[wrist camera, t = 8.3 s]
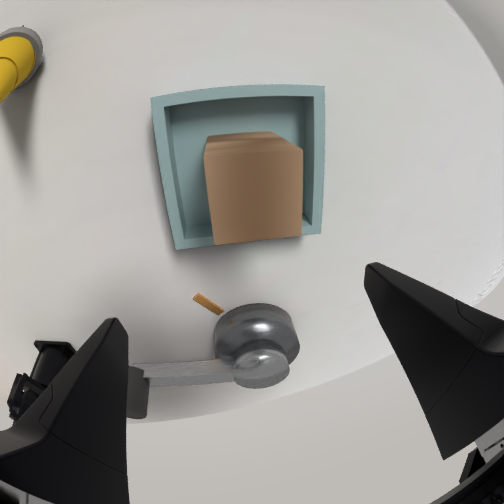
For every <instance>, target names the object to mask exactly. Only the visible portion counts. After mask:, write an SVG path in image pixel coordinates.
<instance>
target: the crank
mask: <svg viewBox="0 0 504 504" xmlns="http://www.w3.org/2000/svg"><path fill="white" fill-rule="evenodd" d="M289 371H290V369H289V365H288V361H287V358H286V354H285V350H284V348H283V347H282V346H281V345H279V344H277V343H274V342H270V341H258V342H253V343H249V344H246V345H244V346H242V347H240V348H239V349H238V350H237V351H235V353H234V354H233V356H232V358H227V359H217V360H206V361H193V362H178V363H154V364H133V367H132V366H129V375H128V391H127V413H126V417H128V418H132V419H143V418H145V417H146V416H147V405H148V395H149V386H177V385H197V384H211V383H222V382H232V381H235V382H236V383H237V384H238V385H240V386H242V387H246V388H253V389H257V388H265V387H270V386H273V385H275V384H277V383H279V382H281V381H282V380H284V379H285V378H286V377H287V376H288V374H289Z"/></svg>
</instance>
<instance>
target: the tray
mask: <svg viewBox="0 0 504 504" xmlns="http://www.w3.org/2000/svg"><path fill="white" fill-rule="evenodd" d="M151 107H152V116H153V124H154V132H155V139H156V146H157V153H158V159H159V165H160V172H161V177H162V183H163V189H164V194H165V200H166V205H167V210H168V215H169V220H170V225H171V229H172V234H173V239H174V243H175V247H176V250H180V249H188V248H196V247H205V246H213V245H215V244H214V237H213V230H212V223H211V215H210V208H209V200H208V192H207V184H206V176H205V168H204V159H203V157H204V152H205V147H206V142H207V137H208V136H212V135H221V134H231V133H243V132H257V131H271V132H273V133H275V134H277V135H278V136H280V137H282V138H284V139H285V140H287V141H289V142H291V143H292V144H294V145H296V146H297V147H299V148H301V149H302V150H303V200H302V233H301V236H302V235H311V234H321V224H322V208H323V190H324V164H325V86H314V85H244V86H229V87H218V88H209V89H200V90H193V91H186V92H179V93H173V94H167V95H162V96H157V97H152V98H151ZM292 237H293V236H292ZM283 238H284V237H283ZM274 239H275V238H274ZM265 240H266V239H265ZM256 241H257V240H256ZM247 242H248V241H247ZM221 245H222V244H221Z"/></svg>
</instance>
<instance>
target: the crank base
mask: <svg viewBox="0 0 504 504" xmlns="http://www.w3.org/2000/svg"><path fill="white" fill-rule="evenodd" d="M193 299H194V300H195V301H197V302H198V303H200V304H201V305H203V306H204V307H206V308H208V309H209V310H211V311H212V312H214V313H216V314H217V315H220V314H221V313H222V312H223V311H224V310H223V309H222V308H220V307H218V306H217V305H215V304H214V303H212V302H211V301H209V300H208V299H206V298H205V297H203V296H202V295H200V294H199V293H198V294H197V295H196V296H195V297H194V298H193ZM214 339H215V358H216V360H217V359H227V358H232V356H233V354H234V353H235V351H237V350H238V349H239V348H240V347H242V346H244V345H246V344H249V343H253V342H258V341H270V342H274V343H277V344H279V345H281V346H282V347H283V348H284V350H285V354H286V358H287V361H288V365H289V364H290V363H292V362H293V361H294V359H295V358H296V357H297V355H298V353H299V349H300V345H299V341H298V338H297V335H296V332H295V329H294V326H293V323H292V320H291V317H290V316H289V314H288V313H287V312H286V311H284V310H283V309H281V308H279V307H277V306H274V305H270V304H264V303H256V304H248V305H244V306H240V307H237V308H235V309H233V310H231V311H229V312H228V313H226V314H225V315H224V316H222V318H221V319H220V320H219V321H218V322H217V324H216V326H215V330H214Z"/></svg>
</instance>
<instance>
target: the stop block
mask: <svg viewBox="0 0 504 504" xmlns="http://www.w3.org/2000/svg"><path fill="white" fill-rule="evenodd" d="M203 159H204V168H205V176H206V184H207V192H208V200H209V208H210V215H211V223H212V230H213V237H214V244H215V245H221V244H230V243H239V242H247V241H256V240H265V239H274V238H283V237H292V236H301V233H302V200H303V150H302V149H301V148H299V147H297V146H296V145H294V144H292V143H291V142H289V141H287V140H285V139H284V138H282V137H280V136H278V135H277V134H275V133H273V132H271V131H257V132H243V133H231V134H221V135H212V136H208V137H207V142H206V147H205V152H204V157H203Z"/></svg>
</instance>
